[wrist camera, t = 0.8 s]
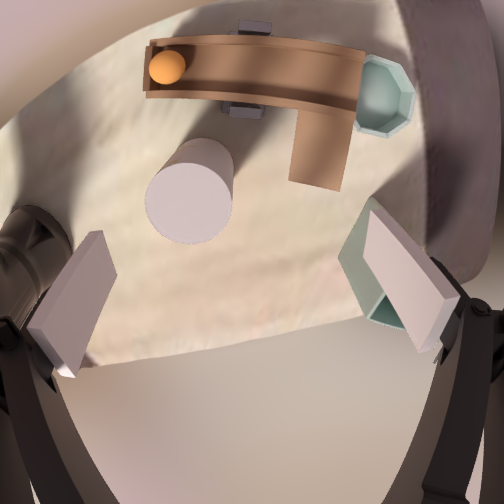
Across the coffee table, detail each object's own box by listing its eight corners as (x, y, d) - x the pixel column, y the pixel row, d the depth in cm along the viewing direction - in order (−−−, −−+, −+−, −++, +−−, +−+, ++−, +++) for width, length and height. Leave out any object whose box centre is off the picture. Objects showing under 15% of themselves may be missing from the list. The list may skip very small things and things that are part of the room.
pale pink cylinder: (187, 127, 33) (164, 148, 23) (245, 155, 35) (248, 187, 25) (161, 182, 37) (134, 223, 27) (216, 207, 39) (208, 256, 29)
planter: (323, 214, 40) (375, 313, 24) (372, 195, 39) (448, 279, 22) (348, 293, 49) (386, 388, 32) (388, 276, 47) (438, 365, 31)
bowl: (326, 122, 33) (335, 127, 30) (337, 49, 28) (347, 47, 25) (393, 137, 34) (406, 143, 31) (405, 71, 29) (419, 71, 26)
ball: (160, 84, 25) (140, 85, 22) (162, 53, 23) (143, 50, 20) (190, 83, 25) (172, 84, 22) (193, 51, 23) (175, 47, 20)
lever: (156, 157, 31) (141, 164, 28) (161, 41, 23) (146, 39, 21) (339, 189, 27) (339, 198, 25) (363, 55, 20) (366, 50, 18)
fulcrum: (222, 112, 32) (216, 121, 24) (230, 32, 27) (227, 14, 19) (263, 115, 33) (271, 126, 25) (272, 36, 27) (285, 20, 19)
